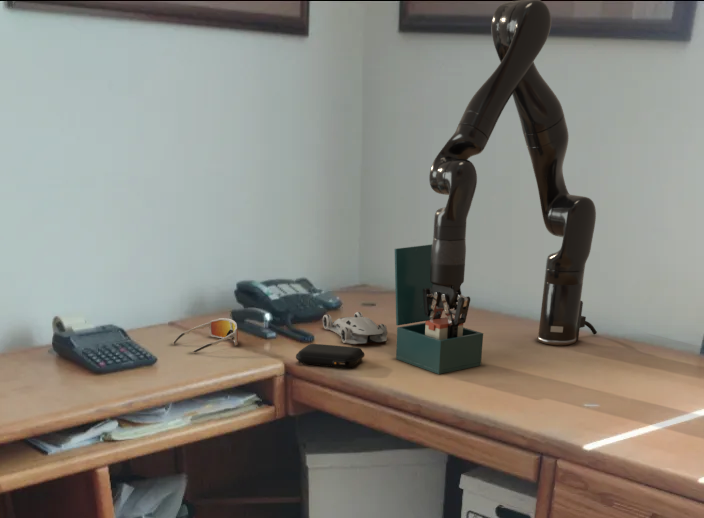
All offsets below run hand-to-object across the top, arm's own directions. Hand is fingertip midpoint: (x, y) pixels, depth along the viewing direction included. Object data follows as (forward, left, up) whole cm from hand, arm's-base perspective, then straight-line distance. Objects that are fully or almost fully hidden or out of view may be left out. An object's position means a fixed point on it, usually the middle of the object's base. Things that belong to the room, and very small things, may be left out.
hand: (443, 339), depth 214 cm
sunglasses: (+36, -46, -6) cm, 59 cm away
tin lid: (0, -10, +10) cm, 14 cm away
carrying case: (+21, -15, -6) cm, 27 cm away
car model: (+1, -32, -6) cm, 33 cm away
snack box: (0, 0, 0) cm, 0 cm away
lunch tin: (0, -1, -6) cm, 6 cm away
